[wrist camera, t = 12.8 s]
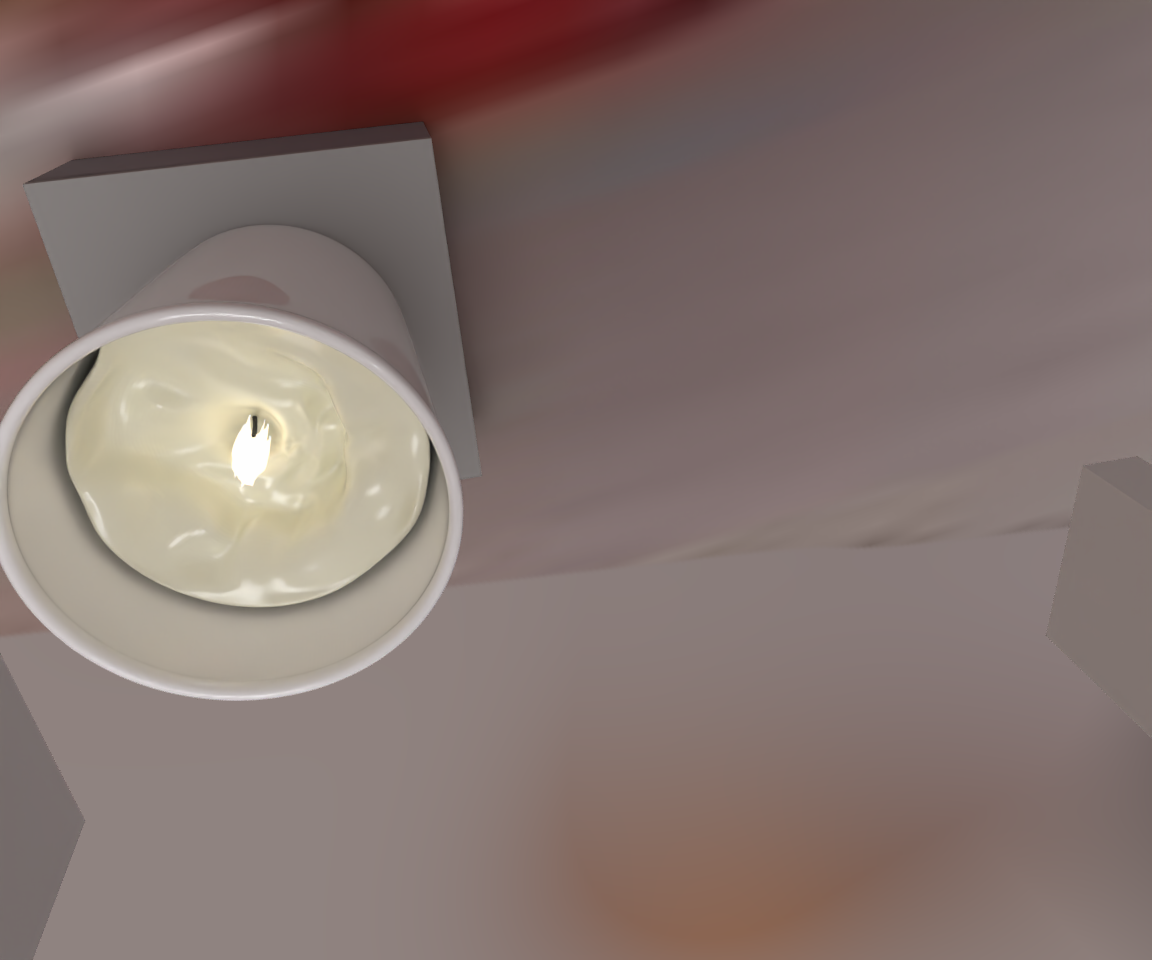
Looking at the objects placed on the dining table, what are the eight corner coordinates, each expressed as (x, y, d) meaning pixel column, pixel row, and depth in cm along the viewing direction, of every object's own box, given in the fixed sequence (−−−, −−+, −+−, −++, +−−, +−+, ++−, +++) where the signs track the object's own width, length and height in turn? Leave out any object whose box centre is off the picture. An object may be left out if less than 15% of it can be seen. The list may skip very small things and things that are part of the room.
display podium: (422, 121, 32) (431, 138, 28) (469, 422, 38) (481, 476, 34) (71, 160, 31) (22, 184, 26) (175, 469, 36) (149, 531, 32)
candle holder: (70, 393, 29) (-96, 604, 19) (212, 130, 27) (111, 205, 16) (341, 522, 33) (328, 754, 23) (486, 305, 31) (548, 456, 20)
